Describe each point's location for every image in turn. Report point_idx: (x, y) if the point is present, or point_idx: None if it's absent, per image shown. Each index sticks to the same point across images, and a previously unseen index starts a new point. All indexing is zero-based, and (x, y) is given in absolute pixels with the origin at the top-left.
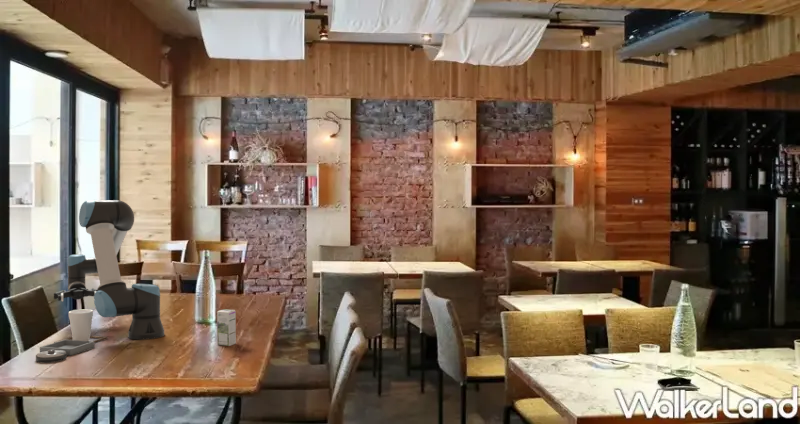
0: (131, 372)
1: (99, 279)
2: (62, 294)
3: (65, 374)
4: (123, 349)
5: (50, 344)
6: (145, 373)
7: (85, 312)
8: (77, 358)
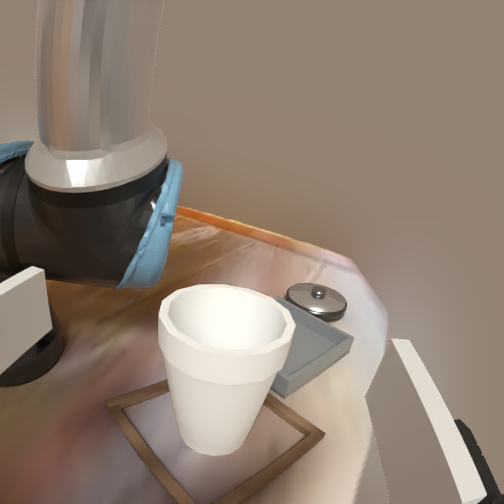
0: (211, 234)
1: (146, 103)
2: (422, 385)
3: (288, 256)
4: (153, 294)
5: (330, 350)
6: (199, 229)
7: (216, 286)
8: (263, 293)
